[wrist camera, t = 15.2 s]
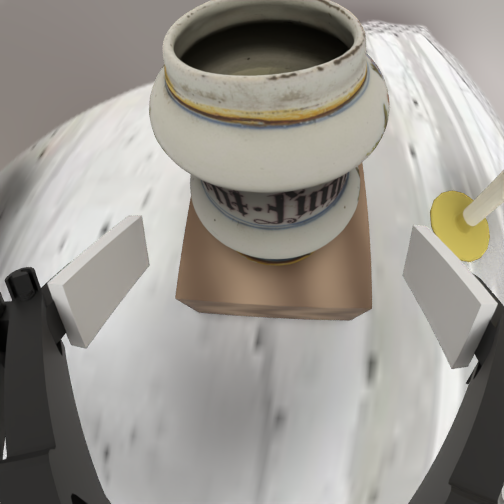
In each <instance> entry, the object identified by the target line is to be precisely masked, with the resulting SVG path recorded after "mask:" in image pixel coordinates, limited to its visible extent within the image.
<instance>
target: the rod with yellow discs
mask: <svg viewBox="0 0 504 504" xmlns="http://www.w3.org/2000/svg"><path fill="white" fill-rule="evenodd" d="M503 202H504V170H503V171H502V172H501V173H500V174H499V175H498V176H497V177H496V178H495V179H494V181H493V182H492V183H491V184H490V185H489V186H488V187H487V188H486V189H485V190H484V191H483V192H482V193H481V194H480V195H479V196H478V197H477V198H476V199H475V200H473V199H471V198H470V197H468V196H467V195H465V194H464V193H460V192H456V191H448V192H443V193H441V194H440V195H439V196H438V197H437V198H436V199H435V200H434V202H433V205H432V208H431V211H430V216H431V227H432V229H433V232H434V234H435V235H436V236H437V237H438V238H439V239H440V240H441V241H442V242H443V243H444V244H445V245H446V246H447V247H448V248H449V249H450V250H451V251H452V252H453V253H454V254H455V255H456V256H457V257H458V258H459V259H460V260H461V261H467V262H471V261H474V260H476V259H479V258H481V256H482V255H483V254H484V252H485V251H486V250H487V247H488V243H489V238H490V235H489V227H488V223H487V220H486V218H485V217H487V216H488V215H489V214H490V213H491V212H493V211H494V210H495V209H496V208H497V207H498V206H499V205H501V204H502V203H503Z"/></svg>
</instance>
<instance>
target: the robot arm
mask: <svg viewBox="0 0 504 504" xmlns="http://www.w3.org/2000/svg"><path fill="white" fill-rule="evenodd" d="M149 265H150V264H149V259H148V253H147V247H146V240H145V234H144V227H143V220H142V216H128V217H126V218H125V219H124V220H122V221H121V222H120V223H118V224H117V225H116V226H115V227H113V228H112V229H111V230H110V231H108V232H107V233H106V234H104V235H103V236H102V237H101V238H99V239H98V240H97V241H96V242H95V243H93V244H92V245H91V246H90V247H88V248H87V249H86V250H85V251H84V252H82V253H81V254H80V255H79V256H78V257H76V258H75V259H74V260H73V261H72V262H70V263H69V264H67V265H66V266H65V267H64V268H63V269H62V270H60V271H59V272H58V273H57V275H55V276H54V277H53V278H51V279H50V280H49V281H48V282H47V283H46V284H45V285H44V286H43V287H42V288H40V285H39V282H38V279H37V276H36V273H35V270H34V268H32V267H26V268H21V269H18V270H16V271H14V272H13V273H11V274H10V275H9V276H7V278H6V279H5V283H6V285H7V288H8V291H9V293H10V296H11V298H12V301H9V302H4V300H3V298H2V295H1V293H0V504H111V503H110V501H109V500H108V499H107V497H106V495H105V494H104V491H103V489H102V487H101V484H100V482H99V479H98V476H97V474H96V471H95V468H94V465H93V462H92V460H91V457H90V454H89V450H88V447H87V444H86V441H85V438H84V434H83V431H82V427H81V424H80V420H79V416H78V412H77V408H76V404H75V400H74V395H73V391H72V386H71V381H70V376H69V371H68V366H67V360H66V354H65V347H64V345H63V342H62V340H61V338H62V337H63V336H64V335H65V333H66V334H67V336H68V339H69V341H70V343H71V345H73V346H77V347H81V348H87V347H88V346H89V344H90V343H91V341H92V340H93V339H94V337H95V336H96V334H97V333H98V332H99V330H100V329H101V328H102V326H103V325H104V324H105V322H106V321H107V319H108V318H109V317H110V315H111V314H112V313H113V311H114V310H115V309H116V307H117V306H118V305H119V304H120V302H121V301H122V300H123V298H124V297H125V296H126V294H127V293H128V292H129V291H130V289H131V288H132V287H133V285H134V284H135V283H136V282H137V280H138V279H139V278H140V277H141V275H142V274H143V273H144V271H145V270H146V269H147V268H148V267H149ZM402 276H403V277H404V279H405V281H406V282H407V284H408V286H409V288H410V289H411V291H412V293H413V295H414V296H415V298H416V300H417V302H418V304H419V305H420V307H421V309H422V311H423V313H424V315H425V316H426V318H427V320H428V322H429V324H430V326H431V328H432V330H433V332H434V334H435V336H436V338H437V340H438V342H439V344H440V346H441V348H442V350H443V352H444V354H445V356H446V358H447V360H448V362H449V364H450V367H451V369H455V368H462V367H468V365H469V363H470V362H471V360H472V358H473V356H474V354H475V355H476V357H477V359H478V363H477V365H476V367H475V368H474V370H473V372H472V374H471V375H470V377H469V379H468V380H467V382H466V384H469V385H468V388H467V391H466V393H465V396H464V398H463V401H462V403H461V406H460V408H459V411H458V413H457V415H456V418H455V420H454V422H453V424H452V427H451V429H450V431H449V433H448V435H447V437H446V439H445V441H444V443H443V445H442V447H441V449H440V451H439V453H438V455H437V457H436V459H435V461H434V462H433V464H432V466H431V468H430V470H429V471H428V473H427V475H426V476H425V478H424V480H423V481H422V483H421V485H420V486H419V488H418V490H417V491H416V493H415V494H414V496H413V497H412V499H411V500H410V502H409V503H408V504H498V499H499V495H500V493H501V490H502V487H503V485H504V306H503V305H502V303H501V302H500V301H499V300H498V298H497V297H496V296H495V295H494V294H493V293H492V291H491V290H490V289H489V288H488V287H487V285H486V284H485V283H484V282H483V281H482V280H481V279H480V278H479V277H477V276H476V275H474V274H473V273H471V272H470V270H469V269H468V268H467V267H466V266H465V265H464V264H463V263H462V262H461V261H460V259H459V258H458V257H457V256H456V255H455V254H454V253H453V252H452V251H451V250H450V249H449V248H448V247H447V246H446V245H445V244H444V243H443V242H442V241H441V240H440V239H439V238H438V237H437V236H436V235H435V234H434V233H433V232H432V231H431V230H430V229H429V228H428V227H427V226H422V225H413V228H412V233H411V238H410V243H409V248H408V253H407V258H406V262H405V267H404V271H403V275H402ZM469 382H470V383H469ZM5 437H6V449H7V458H6V459H4V460H2V459H3V450H4V442H5Z"/></svg>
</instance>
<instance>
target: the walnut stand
mask: <svg viewBox="0 0 504 504" xmlns="http://www.w3.org/2000/svg"><path fill="white" fill-rule="evenodd" d="M358 168H359V174H360V195H359V200H358V204H357V207H356V210H355V212H354V214H353V216H352V218H351V219H350V221H349V223H348V224H347V225H346V227H345V228H344V229H343V230H342V231H341V233H340V234H339V235H338V236H336V237H335V238H334V239H333V240H332V241H330V242H329V243H328V244H326V245H325V246H323V247H321V248H320V249H318V250H316V251H315V252H314V253H312V254H311V255H310V256H308V257H307V258H305V259H303V260H301V261H298V262H296V263H292V264H288V265H279V266H274V265H264V264H260V263H255V262H252V261H250V260H249V259H247V258H245V257H243V256H242V255H240V254H239V253H238V252H236V251H235V250H233V249H231V248H230V247H228V246H226V245H224V244H223V243H222V242H220V241H219V240H218V239H216V238H215V237H214V236H213V235H212V234H211V233H210V232H209V231H208V230H207V229H206V228H205V226H204V225H203V224H202V222H201V221H200V219H199V217H198V215H197V213H196V211H195V209H194V206H193V202H192V198H191V199H190V205H189V210H188V216H187V222H186V228H185V234H184V240H183V247H182V253H181V260H180V267H179V274H178V281H177V289H176V296H175V299H177V300H179V301H180V302H182V303H184V304H186V305H187V306H189V307H191V308H192V309H194V310H196V311H197V312H201V313H212V314H225V315H238V316H253V317H269V318H289V319H314V320H352V319H354V318H355V317H357V316H359V315H361V314H363V313H365V312H367V311H368V310H370V309H372V280H371V253H370V236H369V222H368V210H367V199H366V190H365V181H364V172H363V165H362V163H361V164H360V165H358Z"/></svg>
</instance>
